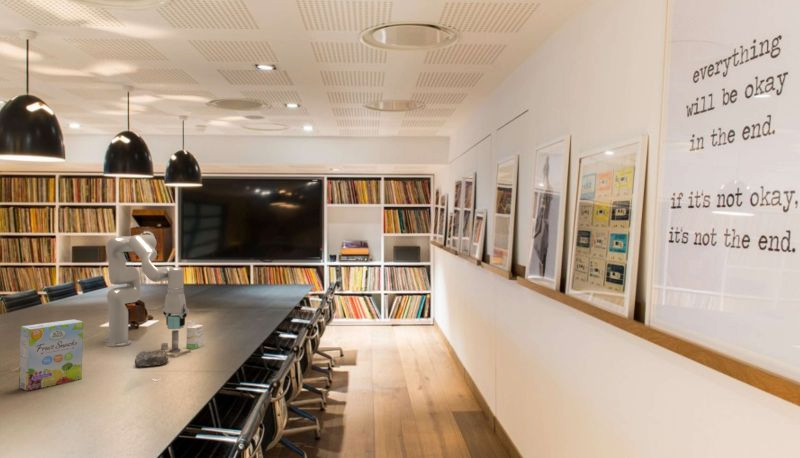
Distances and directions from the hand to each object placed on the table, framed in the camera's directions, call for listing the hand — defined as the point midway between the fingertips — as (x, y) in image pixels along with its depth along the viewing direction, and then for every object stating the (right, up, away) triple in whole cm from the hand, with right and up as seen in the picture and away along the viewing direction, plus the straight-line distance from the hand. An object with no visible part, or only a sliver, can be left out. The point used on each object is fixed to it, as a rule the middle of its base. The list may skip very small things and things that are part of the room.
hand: (175, 325), depth 279 cm
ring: (0, -1, 0) cm, 1 cm away
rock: (-3, -16, -19) cm, 25 cm away
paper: (+8, -17, -48) cm, 52 cm away
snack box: (-31, -16, -51) cm, 62 cm away
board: (-3, -15, +1) cm, 15 cm away
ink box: (+4, -15, +15) cm, 21 cm away
